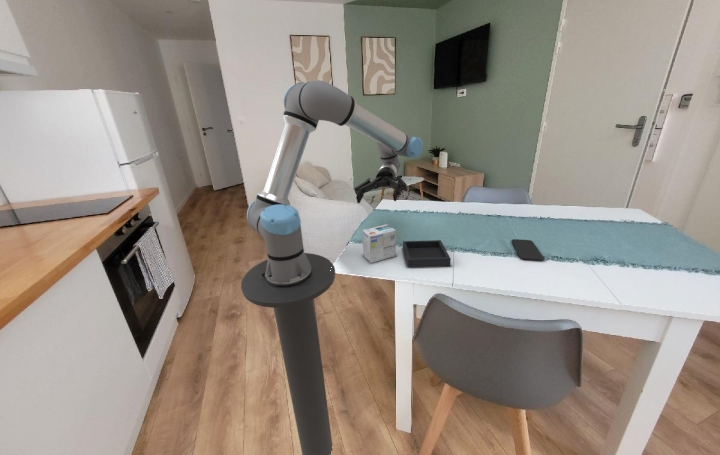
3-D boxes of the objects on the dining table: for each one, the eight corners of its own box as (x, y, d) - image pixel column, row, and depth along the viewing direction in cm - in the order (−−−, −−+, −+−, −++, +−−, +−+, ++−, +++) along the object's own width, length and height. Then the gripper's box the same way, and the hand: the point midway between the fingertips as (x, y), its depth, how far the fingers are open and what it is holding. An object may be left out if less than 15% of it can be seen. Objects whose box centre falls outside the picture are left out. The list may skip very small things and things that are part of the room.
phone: (520, 257, 100) (510, 238, 113) (520, 259, 100) (510, 240, 114) (544, 259, 98) (531, 240, 112) (544, 261, 99) (531, 242, 112)
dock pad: (407, 267, 99) (407, 259, 98) (402, 248, 112) (402, 241, 111) (450, 266, 98) (450, 258, 97) (440, 247, 112) (440, 240, 111)
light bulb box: (387, 249, 112) (387, 223, 108) (396, 256, 107) (396, 229, 102) (362, 255, 108) (361, 229, 104) (370, 263, 102) (369, 236, 98)
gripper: (417, 181, 118) (411, 206, 101) (360, 185, 126) (345, 209, 109) (415, 163, 114) (409, 186, 97) (356, 169, 122) (341, 191, 105)
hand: (375, 198), depth 103 cm, fingers open, 13 cm apart
